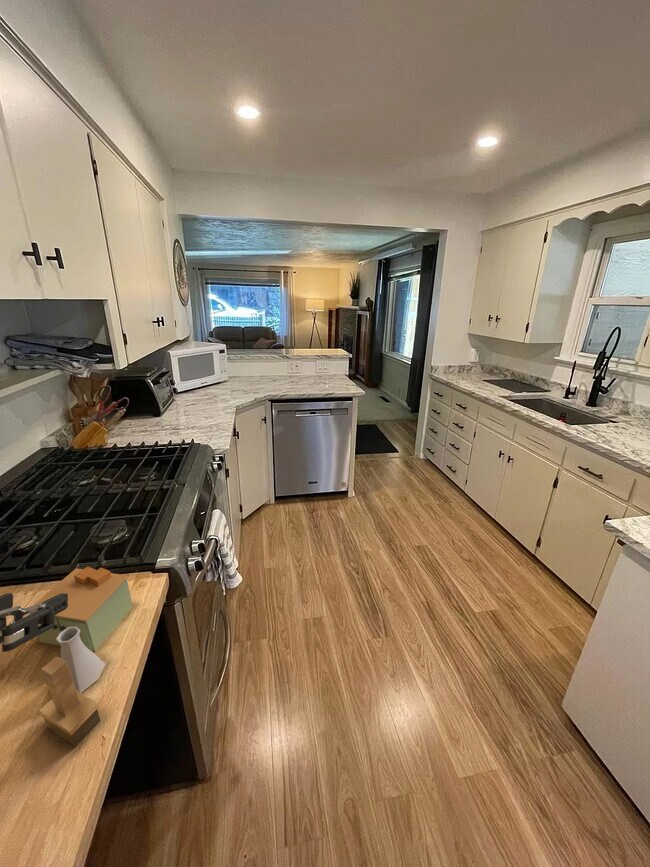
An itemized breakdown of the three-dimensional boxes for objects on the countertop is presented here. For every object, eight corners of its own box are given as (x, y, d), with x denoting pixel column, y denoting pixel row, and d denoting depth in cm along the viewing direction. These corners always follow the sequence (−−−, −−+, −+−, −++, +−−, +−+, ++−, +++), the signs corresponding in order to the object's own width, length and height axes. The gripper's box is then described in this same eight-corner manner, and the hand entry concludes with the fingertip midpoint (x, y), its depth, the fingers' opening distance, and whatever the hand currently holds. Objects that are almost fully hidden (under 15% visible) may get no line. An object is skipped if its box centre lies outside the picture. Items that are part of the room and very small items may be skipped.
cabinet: (35, 645, 69) (23, 612, 66) (84, 598, 80) (75, 568, 77) (93, 656, 67) (83, 622, 64) (135, 605, 78) (128, 575, 76)
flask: (45, 690, 61) (29, 648, 58) (82, 653, 68) (69, 613, 64) (80, 701, 60) (66, 658, 56) (113, 661, 66) (103, 621, 63)
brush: (75, 749, 53) (53, 689, 49) (45, 727, 56) (21, 669, 51) (102, 719, 57) (85, 661, 53) (73, 700, 60) (53, 643, 55)
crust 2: (98, 586, 73) (96, 580, 72) (89, 582, 74) (87, 576, 73) (111, 576, 75) (110, 571, 75) (102, 573, 76) (101, 567, 76)
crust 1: (84, 585, 73) (82, 579, 72) (75, 581, 74) (73, 575, 73) (98, 575, 75) (96, 570, 75) (89, 571, 76) (87, 566, 76)
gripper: (-50, 633, 34) (84, 572, 50) (-178, 632, 35) (-8, 573, 51) (-50, 715, 33) (85, 627, 49) (-179, 710, 35) (-7, 626, 51)
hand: (37, 599), depth 50 cm, fingers open, 8 cm apart
